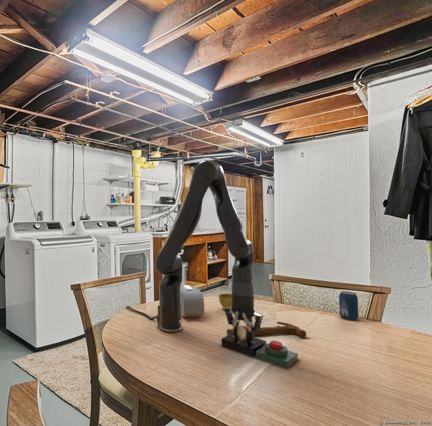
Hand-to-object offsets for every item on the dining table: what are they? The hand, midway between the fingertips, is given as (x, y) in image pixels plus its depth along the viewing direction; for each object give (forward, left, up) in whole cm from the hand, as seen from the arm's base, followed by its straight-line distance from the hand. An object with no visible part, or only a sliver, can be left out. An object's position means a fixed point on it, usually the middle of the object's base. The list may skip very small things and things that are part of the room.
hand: (243, 338), depth 112 cm
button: (+11, 0, 0) cm, 12 cm away
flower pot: (-28, +38, -4) cm, 47 cm away
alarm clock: (-38, +18, -4) cm, 42 cm away
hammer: (-2, +18, -4) cm, 18 cm away
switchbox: (+11, 0, -3) cm, 12 cm away
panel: (0, 0, -3) cm, 3 cm away
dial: (0, 0, 0) cm, 0 cm away
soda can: (+16, +66, -4) cm, 68 cm away
